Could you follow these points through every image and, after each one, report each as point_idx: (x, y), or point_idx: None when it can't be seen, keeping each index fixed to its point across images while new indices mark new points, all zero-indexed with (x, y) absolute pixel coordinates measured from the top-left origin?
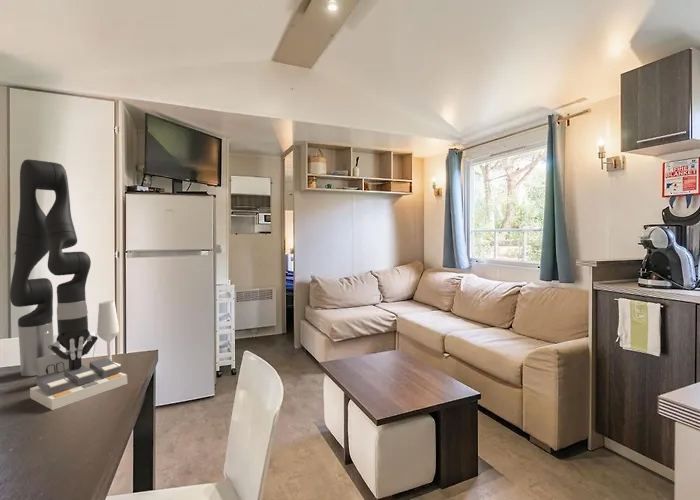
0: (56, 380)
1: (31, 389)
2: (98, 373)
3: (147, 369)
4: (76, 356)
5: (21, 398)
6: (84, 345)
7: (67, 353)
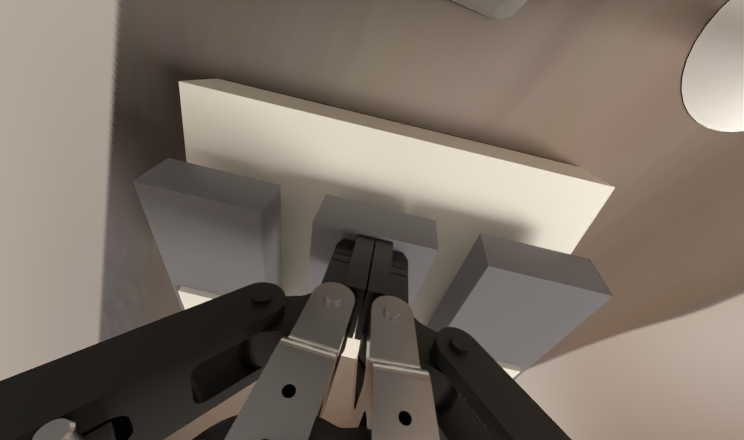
0: (227, 288)
1: (183, 107)
2: (437, 313)
3: (660, 316)
4: (360, 347)
5: (188, 22)
6: (500, 428)
7: (292, 338)
